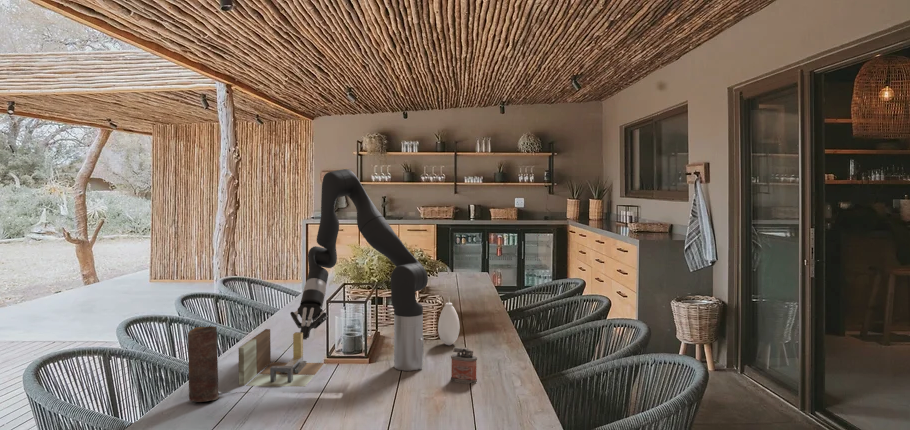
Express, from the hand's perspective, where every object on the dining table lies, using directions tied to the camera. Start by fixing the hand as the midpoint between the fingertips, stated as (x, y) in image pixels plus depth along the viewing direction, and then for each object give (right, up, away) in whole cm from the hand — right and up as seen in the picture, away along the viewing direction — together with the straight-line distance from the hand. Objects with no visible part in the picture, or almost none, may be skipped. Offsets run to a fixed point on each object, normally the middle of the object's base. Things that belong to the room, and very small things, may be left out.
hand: (303, 338), depth 192 cm
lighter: (+52, -9, -18) cm, 56 cm away
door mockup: (-1, -9, -15) cm, 18 cm away
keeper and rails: (0, -7, -15) cm, 17 cm away
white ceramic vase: (+48, -7, +23) cm, 53 cm away
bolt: (0, -7, -10) cm, 13 cm away
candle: (-18, -10, -35) cm, 40 cm away
